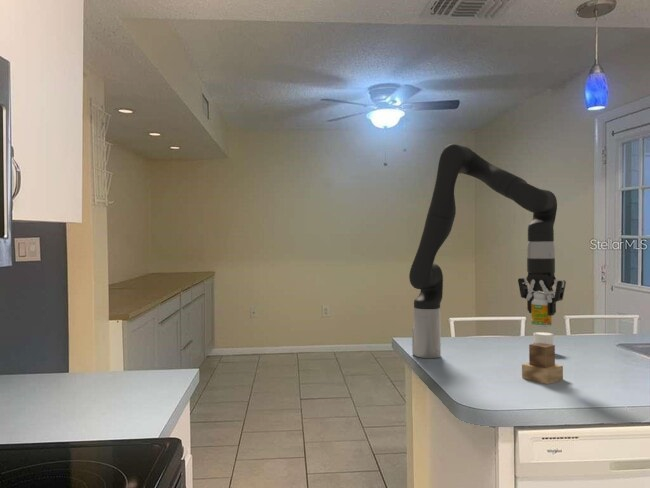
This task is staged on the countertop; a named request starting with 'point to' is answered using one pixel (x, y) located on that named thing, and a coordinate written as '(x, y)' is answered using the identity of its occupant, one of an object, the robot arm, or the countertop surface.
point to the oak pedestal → (542, 373)
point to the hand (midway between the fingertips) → (541, 313)
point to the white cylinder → (543, 337)
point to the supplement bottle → (540, 310)
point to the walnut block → (542, 355)
